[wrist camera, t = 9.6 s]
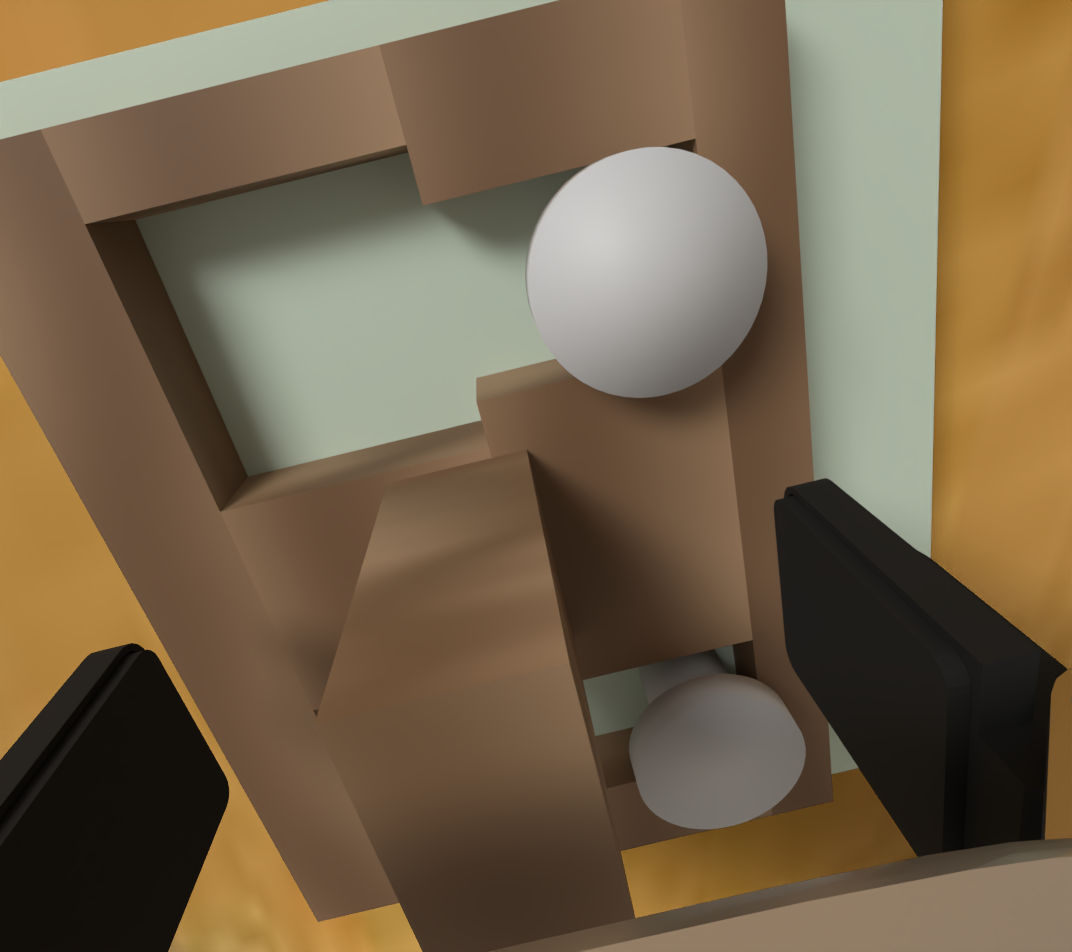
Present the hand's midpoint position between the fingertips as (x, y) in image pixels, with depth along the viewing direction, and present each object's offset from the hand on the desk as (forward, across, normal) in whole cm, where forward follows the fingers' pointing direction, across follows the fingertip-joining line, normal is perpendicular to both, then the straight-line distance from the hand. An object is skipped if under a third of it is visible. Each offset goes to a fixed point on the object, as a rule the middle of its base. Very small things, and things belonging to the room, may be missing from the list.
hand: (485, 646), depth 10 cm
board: (+5, -1, 0) cm, 5 cm away
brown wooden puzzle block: (+4, 0, 0) cm, 4 cm away
